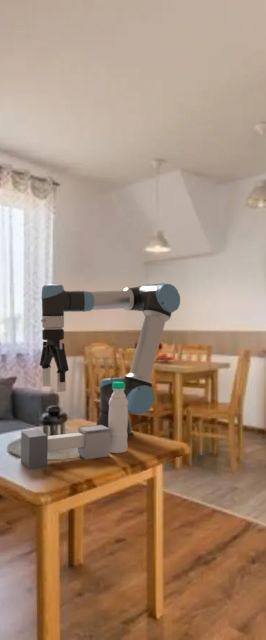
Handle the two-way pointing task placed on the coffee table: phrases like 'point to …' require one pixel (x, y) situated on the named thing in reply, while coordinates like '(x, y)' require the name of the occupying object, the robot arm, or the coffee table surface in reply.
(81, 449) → the sleeve
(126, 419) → the water bottle
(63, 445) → the tube
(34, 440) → the socket fitting
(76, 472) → the coffee table surface
